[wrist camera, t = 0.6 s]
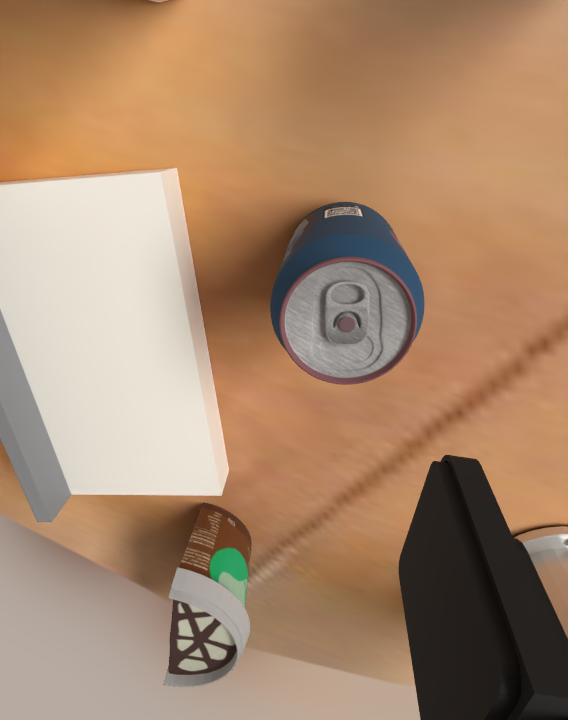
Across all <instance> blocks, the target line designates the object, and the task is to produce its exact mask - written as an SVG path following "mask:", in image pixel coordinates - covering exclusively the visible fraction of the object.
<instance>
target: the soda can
mask: <svg viewBox="0 0 568 720" xmlns="http://www.w3.org/2000/svg"><path fill="white" fill-rule="evenodd" d="M270 310H271V319H272V324H273V327H274V330H275V333H276V335H277V337H278V339H279V341H280V343H281V344H282V346H283V347H284V349H285V350H286V351H287V352H288V354H289V355H290V357H291V358H292V360H293V361H294V362H295V363H296V364H297V365H298V366H299V367H300V368H301V369H303V370H304V371H305V372H307V373H308V374H310V375H312V376H313V377H315V378H317V379H320V380H323V381H326V382H330V383H334V384H346V385H347V384H359V383H364V382H367V381H371V380H373V379H376V378H378V377H380V376H382V375H384V374H385V373H387V372H389V371H390V370H391V369H393V368H394V367H395V366H396V365H397V364H398V363H399V362H400V361H401V360H402V359H403V358H404V356H405V355H406V354H407V352H408V351H409V349H410V347H411V345H412V343H413V341H414V339H415V338H416V336H417V334H418V332H419V329H420V327H421V323H422V320H423V314H424V293H423V288H422V284H421V281H420V279H419V276H418V274H417V272H416V270H415V269H414V267H413V265H412V263H411V262H410V260H409V258H408V256H407V255H406V253H405V251H404V249H403V247H402V246H401V244H400V242H399V240H398V239H397V237H396V235H395V233H394V232H393V230H392V228H391V227H390V225H389V224H388V222H387V221H386V220H385V219H384V218H383V217H382V216H381V215H380V214H378V213H377V212H376V211H374V210H373V209H371V208H369V207H367V206H364V205H361V204H357V203H352V202H338V203H332V204H328V205H325V206H323V207H320V208H318V209H317V210H315V211H313V212H312V213H310V214H309V215H308V216H307V217H305V218H304V219H303V220H302V221H301V223H300V224H299V225H298V227H297V228H296V230H295V231H294V233H293V235H292V237H291V240H290V242H289V245H288V248H287V251H286V253H285V256H284V259H283V262H282V265H281V267H280V270H279V273H278V276H277V279H276V281H275V284H274V287H273V291H272V295H271V305H270Z"/></svg>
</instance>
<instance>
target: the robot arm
mask: <svg viewBox="0 0 568 720" xmlns="http://www.w3.org/2000/svg"><path fill="white" fill-rule="evenodd" d="M399 579H400V586H401V592H402V599H403V606H404V612H405V619H406V626H407V632H408V639H409V645H410V652H411V659H412V665H413V672H414V679H415V685H416V692H417V698H418V705H419V712H420V718H421V720H568V527H566V526H559V527H547V528H542V529H537V530H532V531H529V532H526V533H524V534H521V535H518V536H516V537H514V538H513V537H512V535H511V532H510V530H509V528H508V526H507V523H506V521H505V519H504V517H503V514H502V512H501V510H500V507H499V505H498V503H497V501H496V498H495V496H494V494H493V492H492V489H491V487H490V485H489V482H488V480H487V478H486V476H485V473H484V471H483V469H482V467H481V464H480V463H479V461H478V460H476V459H472V458H465V457H458V456H451V455H445V456H444V457H443V458H442V460H441V462H438V461H433V462H432V464H431V466H430V469H429V472H428V475H427V478H426V481H425V484H424V487H423V490H422V493H421V496H420V499H419V502H418V505H417V508H416V511H415V514H414V517H413V520H412V522H411V525H410V528H409V531H408V534H407V537H406V540H405V543H404V546H403V549H402V552H401V555H400V560H399Z"/></svg>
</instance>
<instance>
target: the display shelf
mask: <svg viewBox="0 0 568 720" xmlns="http://www.w3.org/2000/svg"><path fill="white" fill-rule="evenodd" d="M0 439H1V442H2V444H3V446H4V448H5V451H6V453H7V455H8V457H9V460H10V462H11V464H12V466H13V469H14V471H15V473H16V475H17V478H18V480H19V482H20V484H21V487H22V489H23V491H24V493H25V496H26V498H27V500H28V502H29V505H30V507H31V509H32V511H33V514H34V516H35V518H36V520H37V522H52V521H53V520H54V518H55V517H56V515H57V514H58V513H59V511H60V510H61V508H62V507H63V505H64V504H65V503H66V501H67V500H68V498H69V497H70V496H71V494H77V495H217V496H221V495H222V492H223V489H224V485H225V482H226V479H227V475H228V472H229V467H228V461H227V456H226V450H225V444H224V438H223V433H222V427H221V421H220V415H219V409H218V404H217V398H216V392H215V386H214V380H213V375H212V369H211V363H210V357H209V351H208V346H207V340H206V334H205V328H204V322H203V317H202V311H201V305H200V299H199V293H198V288H197V282H196V276H195V270H194V264H193V259H192V253H191V247H190V241H189V236H188V230H187V224H186V218H185V212H184V207H183V201H182V195H181V189H180V183H179V178H178V172H177V168H167V169H155V170H142V171H130V172H118V173H106V174H94V175H82V176H70V177H58V178H46V179H34V180H22V181H10V182H0Z"/></svg>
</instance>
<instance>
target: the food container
mask: <svg viewBox="0 0 568 720" xmlns="http://www.w3.org/2000/svg"><path fill="white" fill-rule="evenodd" d="M250 554H251V537H250V534H249V532H248V530H247V528H246V527H245V525H244V524H243V523H242V522H241V521H240V520H239V519H238V518H237V517H236V516H234V515H233V514H231V513H230V512H228V511H226V510H224V509H222V508H220V507H218V506H215V505H212V504H208V503H204V502H203V505H202V507H201V510H200V513H199V515H198V518H197V521H196V523H195V526H194V529H193V532H192V534H191V537H190V540H189V542H188V545H187V548H186V550H185V553H184V556H183V558H182V561H181V564H180V567H179V568H178V567H177V570H176V573H175V577H174V580H173V583H172V586H171V591H170V594H169V597H168V598H170V599H173V612H172V623H171V632H170V657H169V667H168V670H167V674H166V677H165V680H164V684H163V685H169V686H178V687H194V686H202V685H206V684H210V683H213V682H216V681H218V680H220V679H222V678H224V677H225V676H227V675H228V674H229V673H230V672H231V671H232V670H233V668H234V667H235V665H236V663H237V662H238V661H239V659H240V658H241V656H242V653H243V650H244V648H245V646H246V643H247V640H248V638H249V635H250V620H249V616H248V614H247V612H246V610H245V600H246V591H247V582H248V573H249V563H250Z"/></svg>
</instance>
